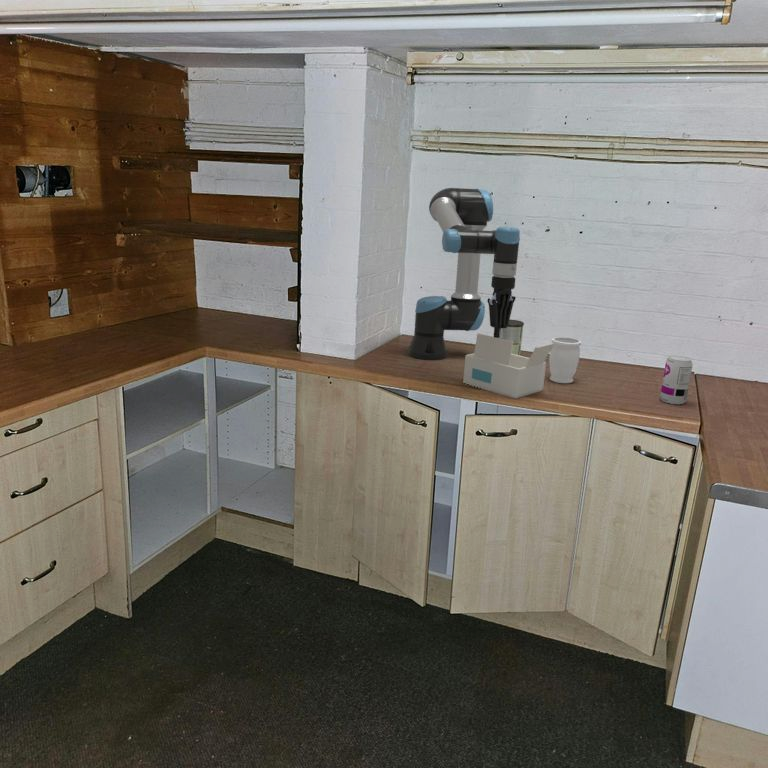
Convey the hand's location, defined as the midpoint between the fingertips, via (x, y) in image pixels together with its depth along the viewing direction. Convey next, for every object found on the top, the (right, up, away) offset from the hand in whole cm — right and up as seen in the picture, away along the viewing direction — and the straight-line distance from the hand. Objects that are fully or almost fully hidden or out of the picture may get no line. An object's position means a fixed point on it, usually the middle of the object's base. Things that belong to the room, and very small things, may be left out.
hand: (497, 347), depth 231 cm
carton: (+3, -13, +8) cm, 16 cm away
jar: (+26, -11, +20) cm, 35 cm away
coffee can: (+13, -1, +53) cm, 55 cm away
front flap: (-1, -1, -1) cm, 2 cm away
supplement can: (+59, -18, +2) cm, 62 cm away
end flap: (+13, -3, -4) cm, 14 cm away
